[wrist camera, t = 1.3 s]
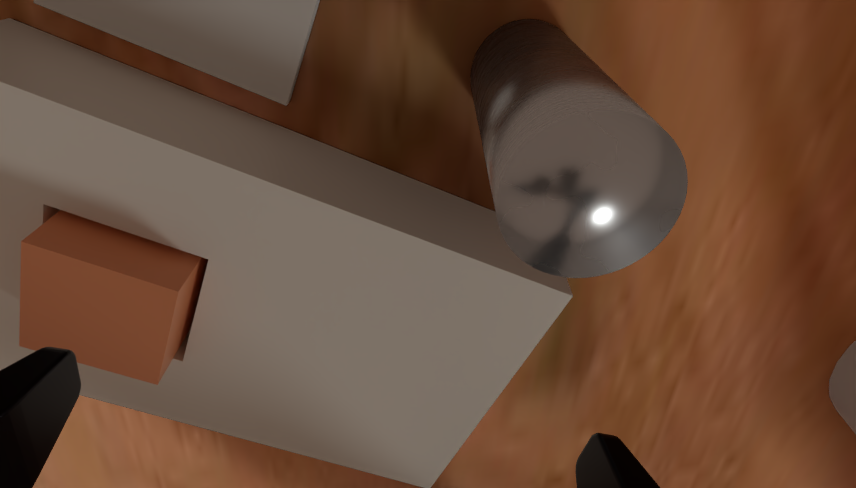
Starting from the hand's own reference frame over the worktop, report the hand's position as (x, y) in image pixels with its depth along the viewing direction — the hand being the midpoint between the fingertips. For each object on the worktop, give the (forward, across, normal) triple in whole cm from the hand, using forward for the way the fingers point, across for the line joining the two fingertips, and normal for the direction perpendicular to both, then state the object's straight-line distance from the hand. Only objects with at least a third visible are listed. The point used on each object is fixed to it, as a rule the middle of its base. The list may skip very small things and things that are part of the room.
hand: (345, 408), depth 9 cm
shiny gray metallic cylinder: (+12, -4, -3) cm, 13 cm away
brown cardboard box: (+10, +8, +6) cm, 14 cm away
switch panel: (+12, +4, +6) cm, 14 cm away
